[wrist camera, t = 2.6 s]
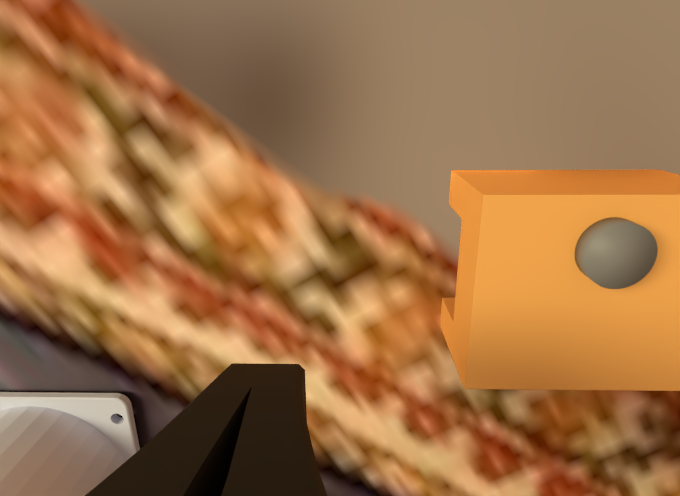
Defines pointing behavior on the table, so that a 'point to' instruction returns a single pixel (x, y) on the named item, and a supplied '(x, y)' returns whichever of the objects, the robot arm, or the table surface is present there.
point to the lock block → (566, 280)
